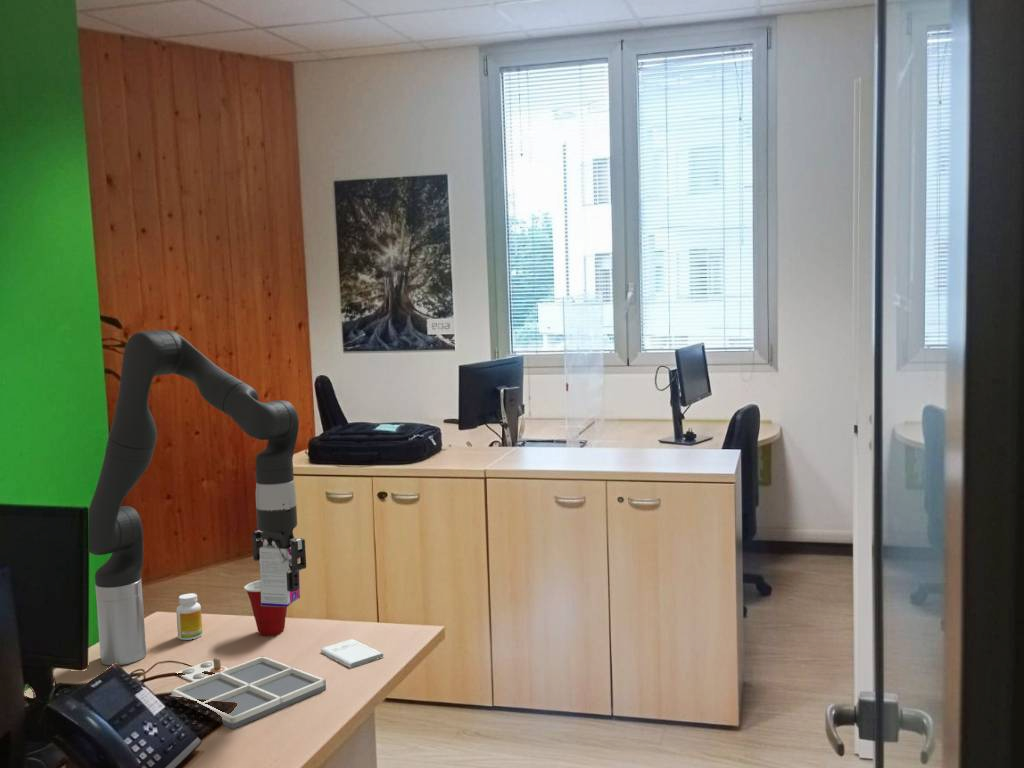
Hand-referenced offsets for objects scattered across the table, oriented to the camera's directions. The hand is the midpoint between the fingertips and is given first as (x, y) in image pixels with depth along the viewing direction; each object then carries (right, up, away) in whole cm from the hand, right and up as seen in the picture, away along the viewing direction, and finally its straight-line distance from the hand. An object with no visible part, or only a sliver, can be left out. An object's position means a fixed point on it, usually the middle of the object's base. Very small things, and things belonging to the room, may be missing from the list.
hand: (280, 586), depth 177 cm
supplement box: (0, -3, 0) cm, 3 cm away
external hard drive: (+10, -20, +20) cm, 30 cm away
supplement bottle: (-30, -20, +35) cm, 50 cm away
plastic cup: (-12, -19, +36) cm, 42 cm away
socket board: (-6, -21, +1) cm, 22 cm away
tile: (-19, -21, +13) cm, 31 cm away
